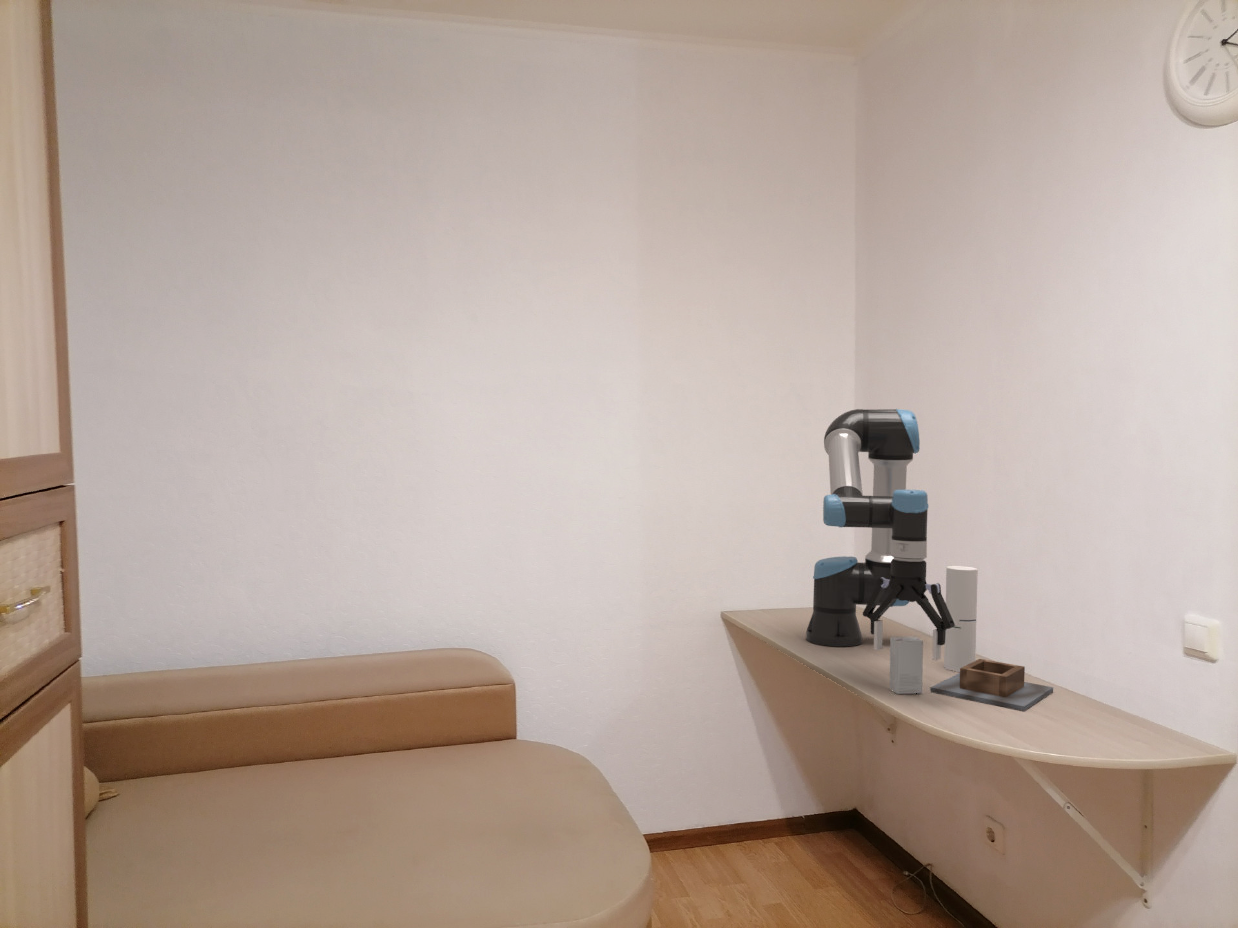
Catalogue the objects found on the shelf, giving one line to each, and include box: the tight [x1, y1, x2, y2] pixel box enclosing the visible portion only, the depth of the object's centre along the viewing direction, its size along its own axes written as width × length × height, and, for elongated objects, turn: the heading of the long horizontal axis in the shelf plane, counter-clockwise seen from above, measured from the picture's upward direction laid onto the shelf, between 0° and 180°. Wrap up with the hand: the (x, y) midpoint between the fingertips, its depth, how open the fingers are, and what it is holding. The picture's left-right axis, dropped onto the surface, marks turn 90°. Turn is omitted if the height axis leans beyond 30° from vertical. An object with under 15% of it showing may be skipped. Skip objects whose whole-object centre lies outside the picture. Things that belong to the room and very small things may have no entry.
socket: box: [929, 658, 1054, 712], centre depth 198 cm, size 20×20×6 cm
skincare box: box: [889, 636, 924, 695], centre depth 197 cm, size 6×4×12 cm
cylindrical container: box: [943, 565, 979, 673], centre depth 217 cm, size 7×7×25 cm
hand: (906, 654), depth 196 cm, fingers open, 13 cm apart
